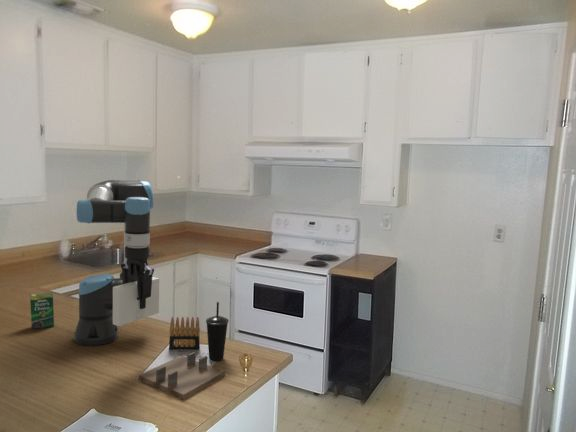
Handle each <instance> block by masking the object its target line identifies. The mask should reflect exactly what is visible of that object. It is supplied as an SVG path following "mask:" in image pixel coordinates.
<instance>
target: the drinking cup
mask: <svg viewBox="0 0 576 432" xmlns="http://www.w3.org/2000/svg"><path fill="white" fill-rule="evenodd" d="M219 307H220V302H219V301H216V315H214V316H211V317H208V318H206V319H205V323H206V331H207V333H206V334H207V345H208V359H209V360H210V361H211V360H212V362H221V361H223V360H224V354H225V346H226V338H227V330H228V324H229V319H228V318H227V317H224V316H221V315H219V311H220V308H219Z"/></svg>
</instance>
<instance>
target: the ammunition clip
mask: <svg viewBox="0 0 576 432" xmlns="http://www.w3.org/2000/svg"><path fill="white" fill-rule="evenodd" d="M180 320H181V321H180ZM190 320H191V321H190ZM200 330H201V329H200V318H199V316H197V317H196V319H195V318H194V317H193V316H192V317H191V319H190V318H189V316H187V317H186V321H185V319H184V316H182V317H181V319H179V316H177V317H176V319H175V318H174V317H173V316H171V319H170V327H169V340H168V341H169V343H168V351H199V350H200V347H201V345H200V344H201V343H200V333H201V332H200Z"/></svg>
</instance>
